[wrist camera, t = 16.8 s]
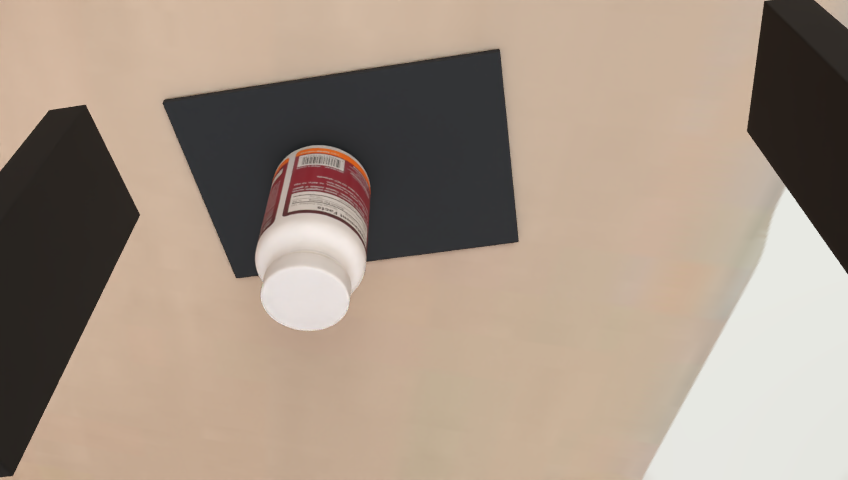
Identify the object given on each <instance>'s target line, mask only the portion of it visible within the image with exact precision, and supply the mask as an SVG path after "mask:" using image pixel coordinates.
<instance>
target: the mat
mask: <svg viewBox="0 0 848 480" xmlns="http://www.w3.org/2000/svg"><path fill="white" fill-rule="evenodd" d="M163 105H164V107H165V110H166V112H167V114H168V117H169V119H170V122H171V124H172V126H173V129H174V131H175V133H176V136H177V138H178V141H179V143H180V145H181V148H182V150H183V153H184V155H185V157H186V160H187V162H188V164H189V167H190V169H191V172H192V174H193V176H194V179H195V181H196V183H197V186H198V188H199V191H200V193H201V195H202V198H203V200H204V203H205V205H206V207H207V210H208V212H209V214H210V217H211V219H212V222H213V224H214V226H215V229H216V231H217V233H218V236H219V238H220V241H221V243H222V245H223V248H224V250H225V253H226V255H227V257H228V260H229V262H230V264H231V267H232V269H233V272H234V274H235V276H236V278H243V277H250V276H258V272H257V269H256V264H255V253H256V248H257V243H258V239H259V235H260V231H261V227H262V223H263V219H264V215H265V211H266V207H267V202H268V198H269V194H270V190H271V186H272V181H273V178H274V175H275V172H276V170H277V168H278V166H279V165H280V163H281V162H282V161H283V160H284V159H285V158H286V157H287V156H288V155H289V154H291V153H292V152H294V151H296V150H298V149H300V148H303V147H307V146H312V145H325V146H331V147H335V148H338V149H341V150H343V151H345V152H347V153H348V154H350V155H351V156H353V157H354V158H355V159H356V160H357V161H358V162H359V163H360V164H361V165H362V166H363V168H364V169H365V171H366V173H367V175H368V178H369V182H370V209H369V226H368V244H367V259H366V262H367V261H375V260H382V259H390V258H398V257H406V256H413V255H421V254H429V253H437V252H444V251H452V250H460V249H468V248H476V247H483V246H491V245H499V244H507V243H514V242H518V231H517V220H516V210H515V200H514V190H513V180H512V169H511V159H510V149H509V139H508V129H507V118H506V108H505V98H504V88H503V78H502V67H501V57H500V50H499V49H497V50H491V51H484V52H478V53H471V54H464V55H458V56H451V57H445V58H438V59H431V60H425V61H418V62H412V63H405V64H398V65H392V66H385V67H379V68H372V69H365V70H359V71H352V72H346V73H339V74H333V75H326V76H319V77H313V78H306V79H300V80H293V81H286V82H280V83H273V84H267V85H260V86H253V87H247V88H240V89H234V90H227V91H220V92H214V93H207V94H201V95H194V96H187V97H181V98H174V99H168V100H164V102H163Z"/></svg>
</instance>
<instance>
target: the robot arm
mask: <svg viewBox="0 0 848 480" xmlns="http://www.w3.org/2000/svg"><path fill="white" fill-rule="evenodd" d="M747 132H748V133H749V135H750V136H751V137H752V139H753V140H754V142H755V143H756V145H757V146H758V147H759V149H760V150H761V152H762V153H763V154H764V156H765V157H766V159H767V160H768V162H769V163H770V164H771V166H772V167H773V169H774V170H775V171H776V173H777V174H778V176H779V177H780V179H781V180H782V181H783V183H784V184H785V186H786V187H787V189H788V190H789V191H790V193H791V194H792V196H793V197H794V198H795V199H796V201H797V203H798V204H799V206H800V207H801V208H802V210H803V211H804V212H805V214H806V215H807V217H808V218H809V220H810V221H811V222H812V224H813V225H814V227H815V228H816V230H817V231H818V232H819V234H820V235H821V237H822V238H823V240H824V241H825V242H826V244H827V245H828V247H829V248H830V250H831V251H832V252H833V254H834V255H835V257H836V258H837V259H838V261H839V262H840V264H841V265H842V266H843V268H844V269H845V271H846V272H847V274H848V29H847V28H846V27H845V26H844V25H842V24H841V23H840V22H839V21H838V20H837V19H835V18H834V17H833V16H832V15H831V14H830V13H828V12H827V11H826V10H825V9H824V8H823V7H821V6H820V5H819V4H818V3H817V2H816V1H814V0H769V1H764V8H763V15H762V23H761V30H760V38H759V45H758V53H757V60H756V68H755V75H754V83H753V90H752V98H751V105H750V113H749V120H748V128H747ZM139 216H140V214H139V212H138V210H137V208H136V206H135V204H134V202H133V200H132V198H131V196H130V194H129V192H128V190H127V188H126V186H125V184H124V182H123V180H122V178H121V176H120V173H119V171H118V169H117V167H116V165H115V163H114V161H113V159H112V157H111V155H110V153H109V151H108V149H107V147H106V145H105V143H104V141H103V139H102V137H101V135H100V133H99V131H98V129H97V127H96V125H95V123H94V121H93V119H92V117H91V115H90V113H89V111H88V109H87V107H86V105H81V106H74V107H68V108H61V109H55V110H49V111H48V112H47V114H46V115H45V116H44V117H43V119H42V120H41V121H40V122H39V124H38V125H37V126H36V127H35V129H34V130H33V131H32V133H31V134H30V135H29V136H28V138H27V139H26V140H25V141H24V143H23V144H22V145H21V146H20V148H19V149H18V150H17V151H16V153H15V154H14V155H13V156H12V158H11V159H10V160H9V161H8V163H7V164H6V165H5V166H4V168H3V169H2V170H1V171H0V477H7V476H13V474H14V472H15V470H16V468H17V466H18V464H19V462H20V460H21V458H22V456H23V454H24V452H25V450H26V448H27V446H28V444H29V442H30V440H31V437H32V435H33V433H34V431H35V429H36V427H37V425H38V423H39V421H40V419H41V417H42V415H43V413H44V411H45V409H46V407H47V405H48V403H49V401H50V398H51V396H52V394H53V392H54V390H55V388H56V386H57V384H58V382H59V380H60V378H61V376H62V374H63V372H64V370H65V368H66V366H67V364H68V362H69V360H70V357H71V355H72V353H73V351H74V349H75V347H76V345H77V343H78V341H79V339H80V337H81V335H82V333H83V331H84V329H85V327H86V325H87V323H88V321H89V318H90V316H91V314H92V312H93V310H94V308H95V306H96V304H97V302H98V300H99V298H100V296H101V294H102V292H103V290H104V288H105V286H106V284H107V282H108V279H109V277H110V275H111V273H112V271H113V269H114V267H115V265H116V263H117V261H118V259H119V257H120V255H121V253H122V251H123V249H124V247H125V245H126V243H127V240H128V238H129V236H130V234H131V232H132V230H133V228H134V226H135V224H136V222H137V220H138V218H139Z"/></svg>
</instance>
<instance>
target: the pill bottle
mask: <svg viewBox="0 0 848 480" xmlns="http://www.w3.org/2000/svg"><path fill="white" fill-rule="evenodd" d="M369 209H370V182H369V178H368V175H367V173H366V171H365V169H364V168H363V166H362V165H361V164H360V163H359V162H358V161H357V160H356V159H355V158H354V157H353V156H351V155H350V154H348V153H347V152H345V151H343V150H341V149H338V148H335V147H331V146H325V145H312V146H307V147H303V148H300V149H298V150H296V151H294V152H292V153H291V154H289V155H288V156H287V157H286V158H285V159H284V160H283V161H282V162H281V163H280V165H279V166H278V168H277V170H276V172H275V175H274V178H273V181H272V186H271V190H270V194H269V198H268V202H267V207H266V211H265V215H264V219H263V223H262V227H261V231H260V235H259V239H258V243H257V248H256V253H255V264H256V269H257V272H258V275H259V277H260V279H261V281H262V282H263V283H262V287H261V302H262V305H263V307H264V309H265V310H266V312H267V313H268V314H269V315H270V316H271V317H272V318H273V319H274V320H275V321H277V322H278V323H280V324H282V325H284V326H286V327H289V328H292V329H296V330H302V331H315V330H321V329H325V328H328V327H330V326H332V325H334V324H336V323H337V322H339V321H340V320H341V319H342V318H343V317H344V315H345V314H346V312H347V310H348V308H349V304H350V296H351V293H352V292H353V291H354V290H355V289H356V288H357V287H358V286H359V284H360V283H361V281H362V279H363V276H364V273H365V269H366V259H367V244H368V226H369Z"/></svg>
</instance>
